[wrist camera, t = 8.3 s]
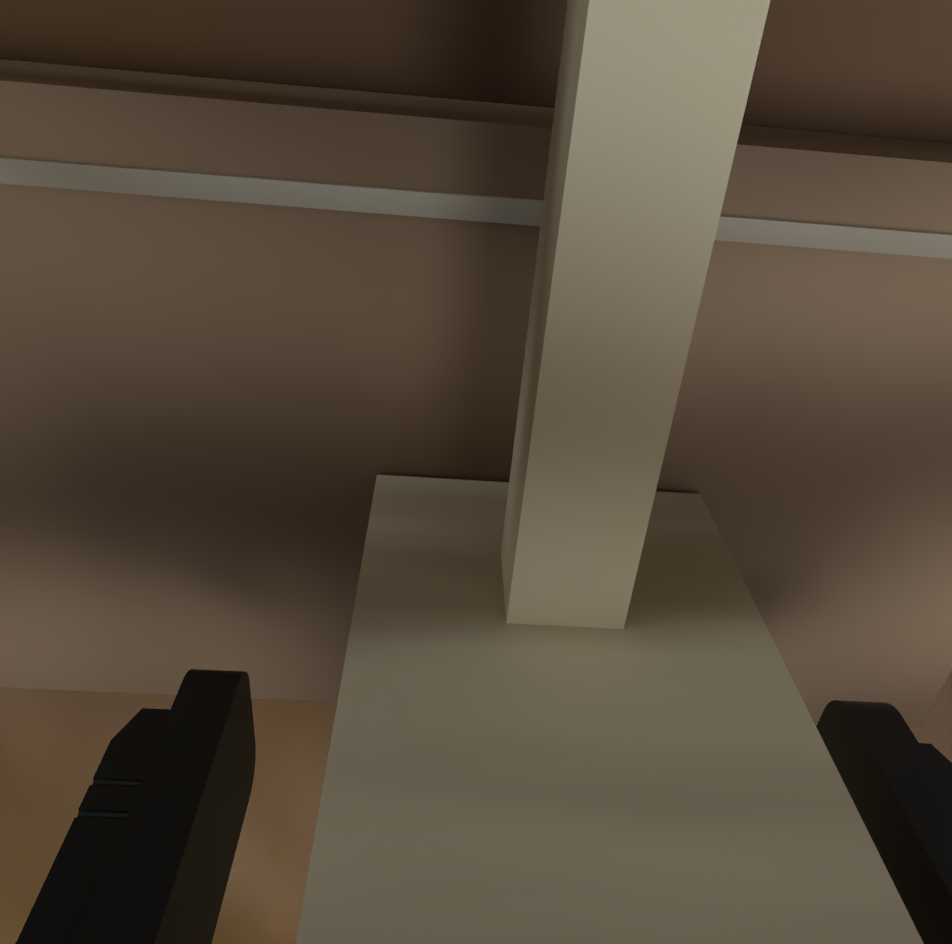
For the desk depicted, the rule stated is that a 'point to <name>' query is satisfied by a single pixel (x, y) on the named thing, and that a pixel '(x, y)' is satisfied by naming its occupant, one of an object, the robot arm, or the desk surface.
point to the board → (428, 374)
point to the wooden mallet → (590, 595)
